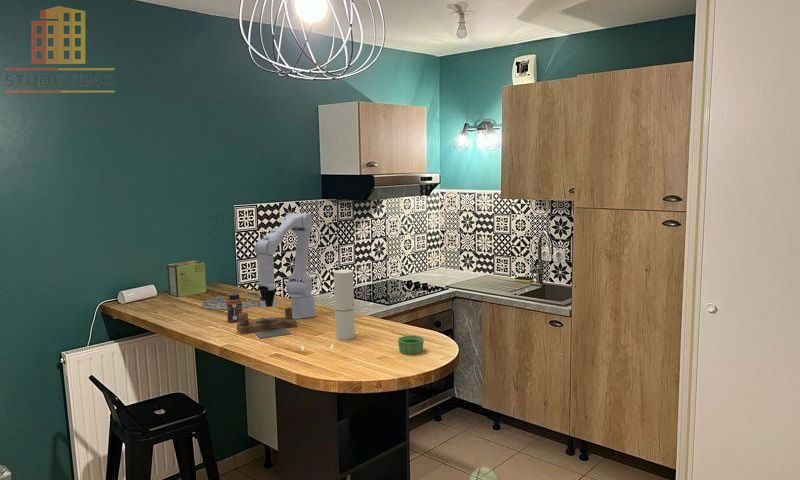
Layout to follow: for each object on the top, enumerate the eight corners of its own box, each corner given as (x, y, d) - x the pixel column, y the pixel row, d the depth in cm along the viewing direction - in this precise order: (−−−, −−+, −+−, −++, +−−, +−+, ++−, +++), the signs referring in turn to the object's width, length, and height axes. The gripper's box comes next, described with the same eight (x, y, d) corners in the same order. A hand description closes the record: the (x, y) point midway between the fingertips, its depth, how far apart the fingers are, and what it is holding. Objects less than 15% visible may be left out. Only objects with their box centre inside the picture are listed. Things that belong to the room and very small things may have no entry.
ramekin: (392, 351, 212) (392, 339, 211) (410, 345, 218) (410, 333, 217) (411, 357, 205) (411, 344, 205) (429, 351, 211) (429, 338, 211)
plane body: (291, 322, 252) (290, 305, 251) (296, 326, 245) (296, 309, 244) (237, 329, 243) (236, 312, 242) (241, 334, 236) (240, 316, 235)
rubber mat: (285, 329, 242) (285, 328, 241) (291, 334, 234) (291, 333, 234) (255, 333, 236) (254, 332, 236) (259, 338, 229) (259, 337, 229)
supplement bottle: (238, 322, 253) (237, 295, 251) (225, 322, 254) (223, 295, 252) (245, 319, 258) (243, 292, 257) (232, 318, 260) (230, 292, 258)
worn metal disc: (185, 305, 287) (185, 304, 287) (243, 291, 315) (243, 290, 315) (232, 314, 268) (232, 313, 268) (290, 298, 296) (290, 297, 296)
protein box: (206, 292, 313) (205, 262, 311) (178, 297, 302) (176, 266, 300) (196, 289, 320) (194, 260, 318) (168, 294, 309) (166, 264, 307)
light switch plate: (274, 303, 242) (273, 294, 242) (276, 306, 238) (276, 296, 238) (258, 305, 240) (257, 296, 239) (260, 308, 236) (260, 298, 235)
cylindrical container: (357, 335, 232) (356, 270, 228) (350, 340, 225) (348, 273, 222) (340, 333, 234) (338, 269, 231) (332, 338, 227) (330, 272, 224)
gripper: (252, 268, 242) (253, 302, 244) (260, 274, 229) (261, 310, 231) (269, 267, 245) (271, 300, 247) (278, 273, 232) (280, 308, 234)
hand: (267, 305), depth 239 cm, fingers closed on light switch plate, 4 cm apart
